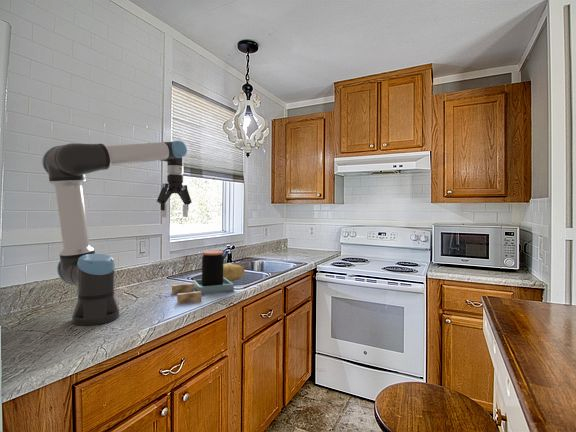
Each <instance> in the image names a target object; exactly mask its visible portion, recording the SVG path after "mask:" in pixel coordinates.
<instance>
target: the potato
mask: <svg viewBox="0 0 576 432" xmlns="http://www.w3.org/2000/svg"><path fill="white" fill-rule="evenodd" d="M244 274H245V268H244V267H243V266H242V265H239V264H234V263H226V264H224V263H223V277H225V278H226V279H227V280H229V281H230V282H234V281H236V280H240V279H242V277H243V276H244Z"/></svg>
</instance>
